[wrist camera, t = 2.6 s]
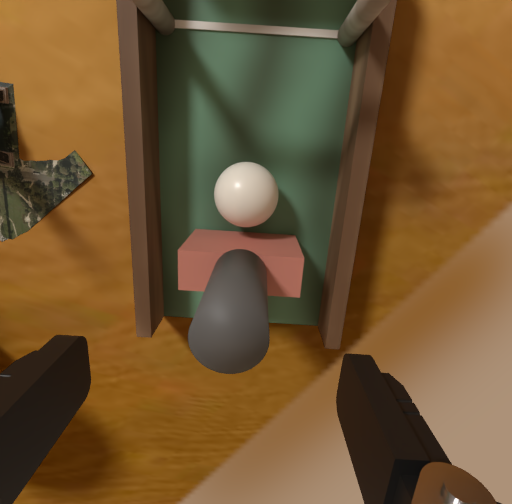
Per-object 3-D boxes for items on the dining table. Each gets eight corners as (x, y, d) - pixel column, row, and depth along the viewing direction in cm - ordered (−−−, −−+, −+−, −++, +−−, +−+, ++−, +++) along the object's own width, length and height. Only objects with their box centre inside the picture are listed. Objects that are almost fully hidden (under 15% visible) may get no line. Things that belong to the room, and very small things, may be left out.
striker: (295, 231, 22) (328, 309, 11) (291, 271, 23) (318, 379, 12) (195, 224, 22) (131, 296, 11) (195, 264, 23) (135, 368, 12)
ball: (279, 162, 21) (283, 165, 17) (274, 221, 22) (277, 236, 19) (219, 158, 21) (209, 160, 17) (217, 218, 22) (208, 231, 19)
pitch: (383, -66, 18) (510, -291, 9) (327, 318, 26) (364, 413, 17) (141, -83, 18) (16, -324, 9) (156, 307, 26) (96, 396, 17)
